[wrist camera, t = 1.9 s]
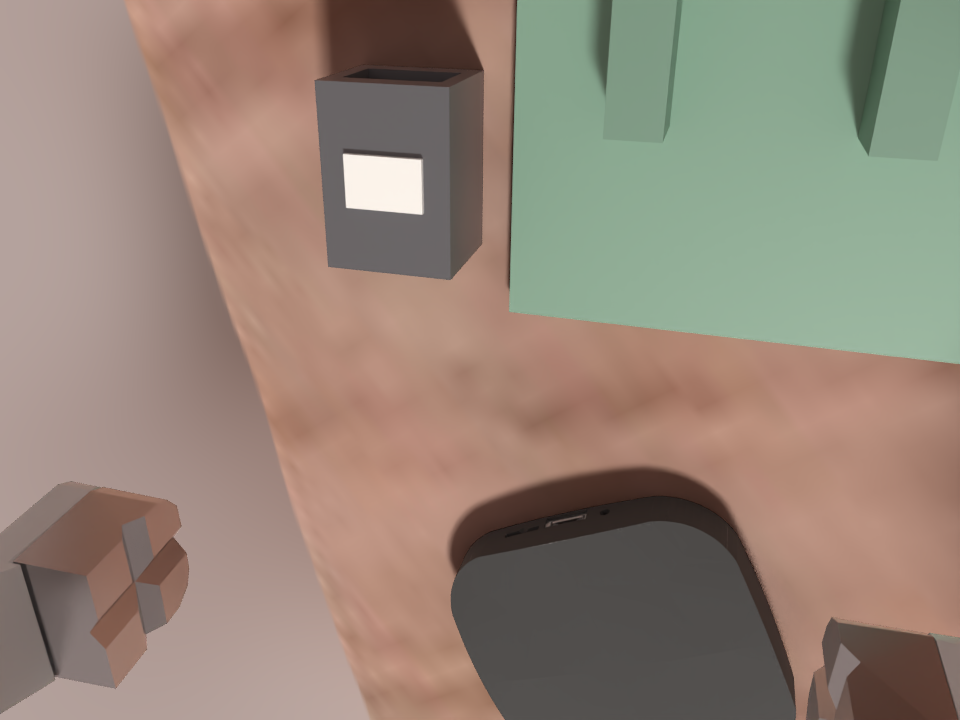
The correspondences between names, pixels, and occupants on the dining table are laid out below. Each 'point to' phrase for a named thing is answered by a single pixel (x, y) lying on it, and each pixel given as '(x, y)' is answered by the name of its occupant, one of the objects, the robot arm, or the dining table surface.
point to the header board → (742, 169)
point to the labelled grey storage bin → (402, 168)
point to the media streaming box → (622, 618)
